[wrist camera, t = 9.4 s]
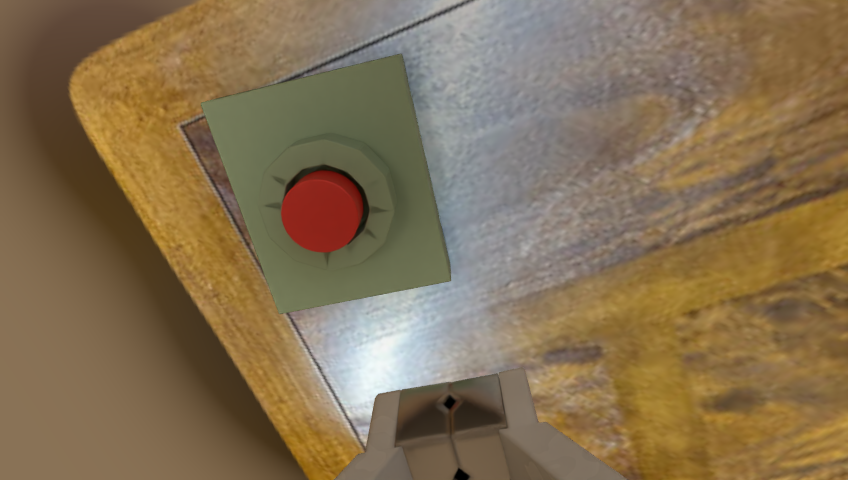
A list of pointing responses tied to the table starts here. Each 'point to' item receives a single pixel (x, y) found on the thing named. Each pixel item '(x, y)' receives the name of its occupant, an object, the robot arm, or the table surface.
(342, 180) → the button
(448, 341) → the table surface
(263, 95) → the button housing
